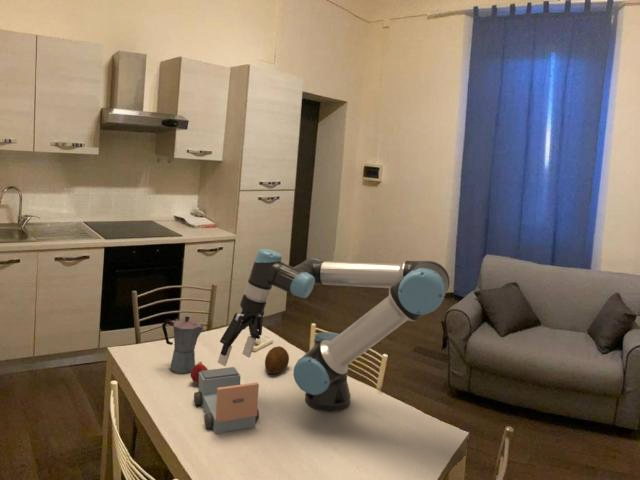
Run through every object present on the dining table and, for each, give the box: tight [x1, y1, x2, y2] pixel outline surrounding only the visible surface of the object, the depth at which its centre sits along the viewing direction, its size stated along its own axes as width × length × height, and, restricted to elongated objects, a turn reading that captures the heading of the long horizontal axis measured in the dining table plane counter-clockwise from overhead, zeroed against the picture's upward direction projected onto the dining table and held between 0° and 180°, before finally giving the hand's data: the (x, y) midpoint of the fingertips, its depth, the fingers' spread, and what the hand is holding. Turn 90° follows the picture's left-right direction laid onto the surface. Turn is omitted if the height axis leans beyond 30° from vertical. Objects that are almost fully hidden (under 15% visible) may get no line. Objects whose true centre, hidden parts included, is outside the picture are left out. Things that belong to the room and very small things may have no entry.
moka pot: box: [161, 316, 205, 374], centre depth 192 cm, size 10×15×20 cm, turn 89°
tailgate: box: [216, 381, 260, 422], centre depth 154 cm, size 2×12×10 cm, turn 116°
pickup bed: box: [193, 366, 260, 434], centre depth 165 cm, size 22×16×10 cm
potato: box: [264, 346, 290, 375], centre depth 198 cm, size 8×12×9 cm
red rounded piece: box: [189, 361, 208, 385], centre depth 183 cm, size 6×6×8 cm
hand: (234, 359), depth 169 cm, fingers open, 13 cm apart
